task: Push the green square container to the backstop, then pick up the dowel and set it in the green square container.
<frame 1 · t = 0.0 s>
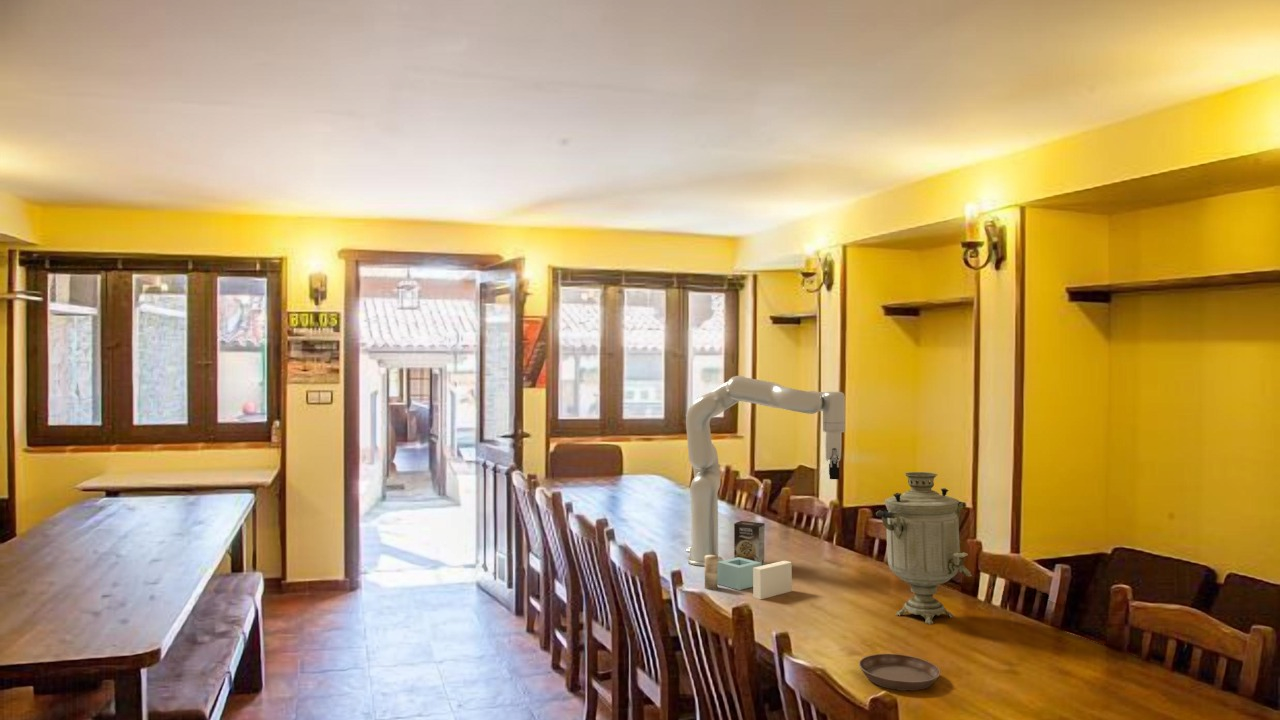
hand: (834, 477, 299), 31 cm above the table, tool pointing down, fingers open, 9 cm apart
coffee box: (749, 570, 297), on the table
dowel: (711, 587, 274), on the table
backstop: (772, 594, 267), on the table
plant saucer: (899, 680, 197), on the table
samovar: (928, 619, 241), on the table
green square container: (739, 573, 278), point 4 cm above the table, slide at 0.0 cm
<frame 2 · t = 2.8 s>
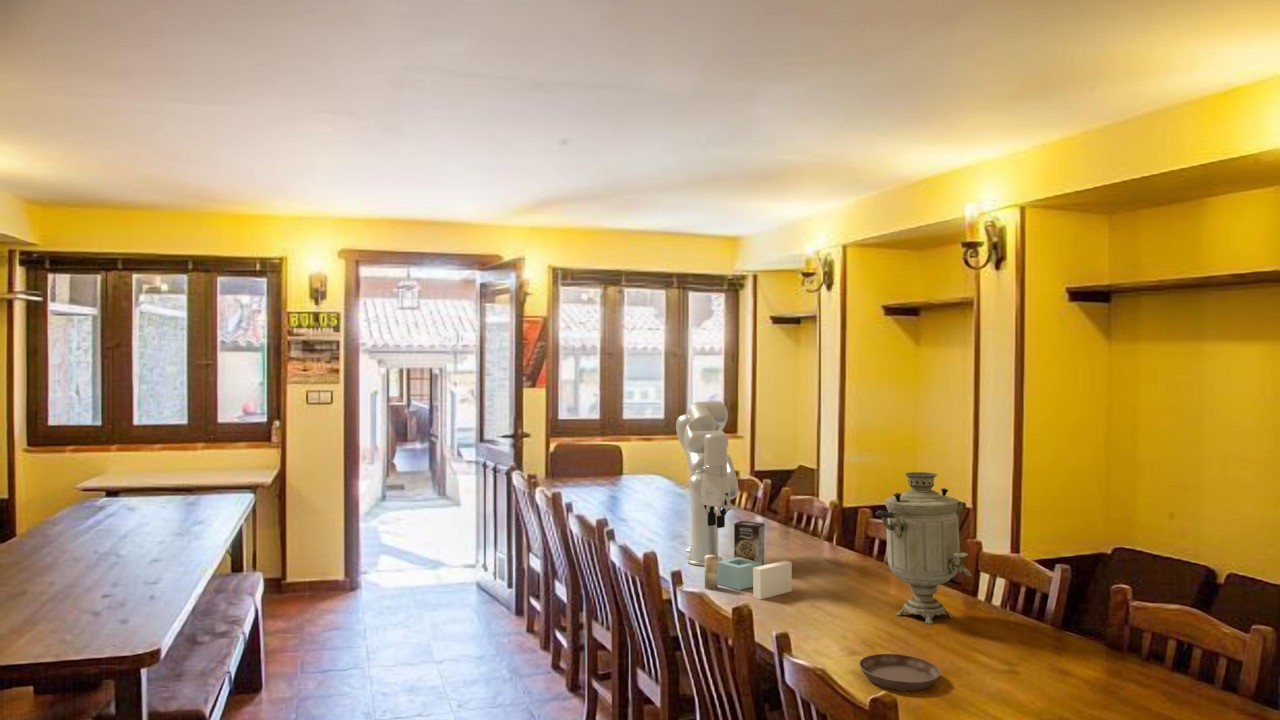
hand: (716, 525, 286), 17 cm above the table, tool pointing down, fingers open, 3 cm apart
nothing on the table moved.
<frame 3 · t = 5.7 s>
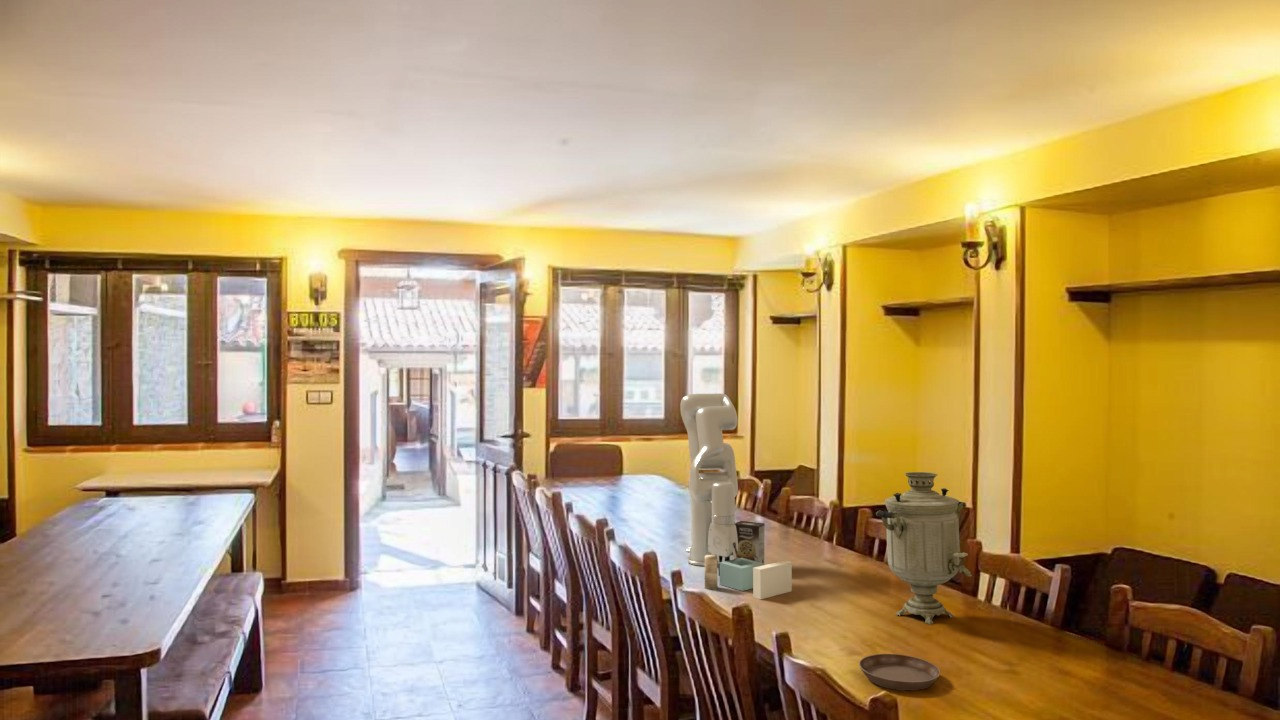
hand: (723, 575, 283), 1 cm above the table, tool pointing down, fingers closed
green square container: (741, 573, 277), point 4 cm above the table, slide at 1.2 cm, touching gripper
everything else where it was.
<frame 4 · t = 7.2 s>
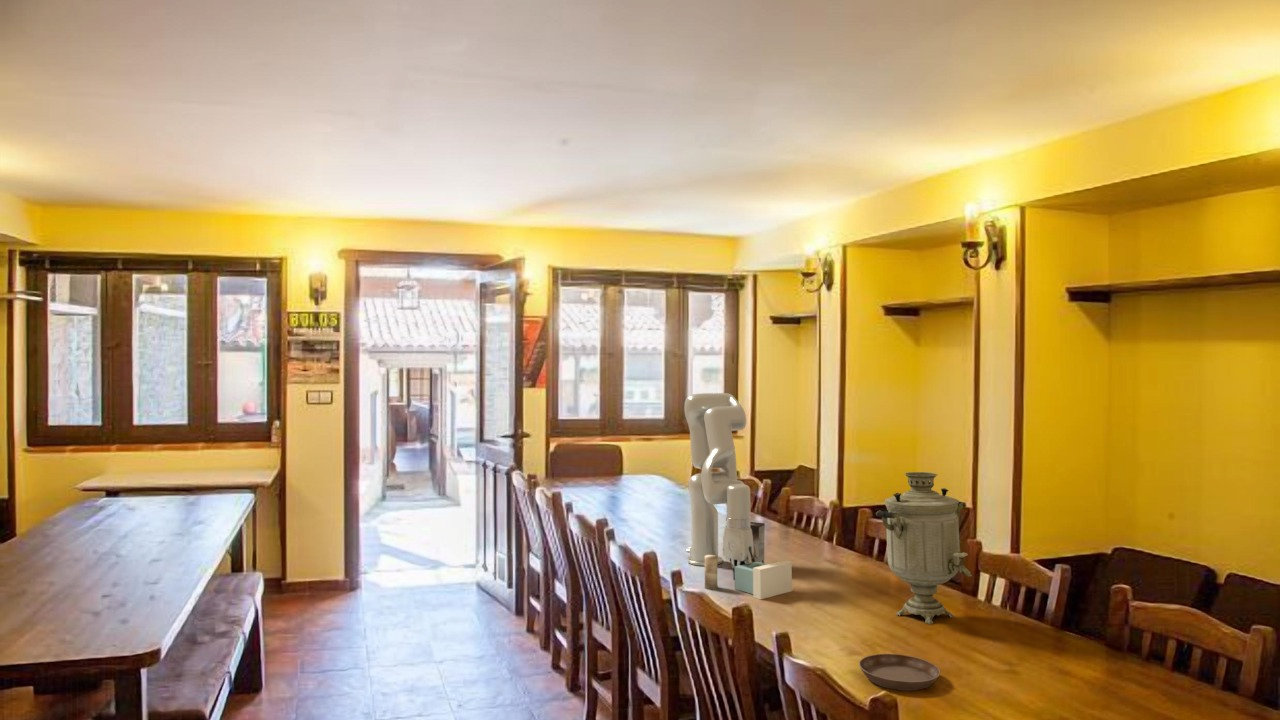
hand: (738, 579, 278), 1 cm above the table, tool pointing down, fingers closed
green square container: (757, 578, 272), point 4 cm above the table, slide at 8.0 cm, touching backstop, gripper
everything else where it was.
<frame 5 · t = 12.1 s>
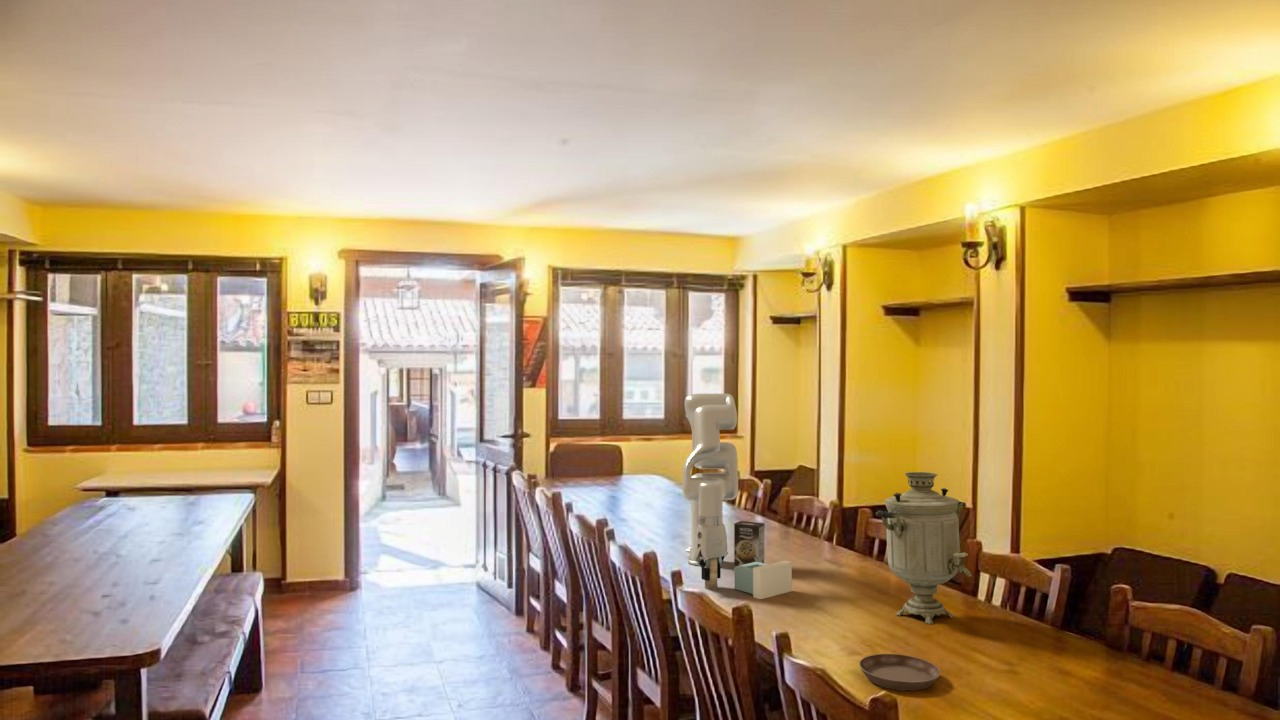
hand: (711, 578, 274), 3 cm above the table, tool pointing down, fingers closed on dowel, 4 cm apart
dowel: (711, 587, 274), on the table, touching gripper
green square container: (757, 578, 272), point 4 cm above the table, slide at 8.0 cm, touching backstop
everything else where it was.
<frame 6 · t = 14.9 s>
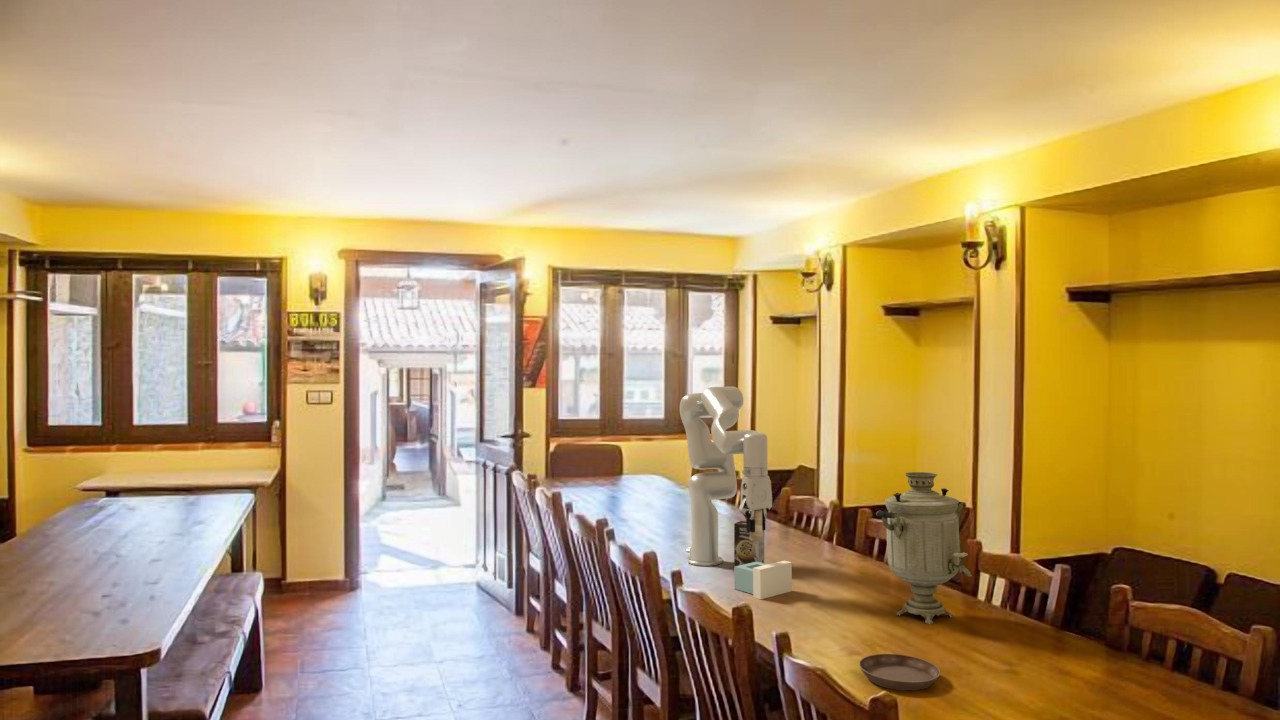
hand: (755, 530, 272), 19 cm above the table, tool pointing down, fingers closed on dowel, 4 cm apart
dowel: (756, 540, 272), point 16 cm above the table, touching gripper
everything else where it was.
when the fingers open (8 cm above the table, at t = 17.6 s): dowel stays where it is, resting on green square container.
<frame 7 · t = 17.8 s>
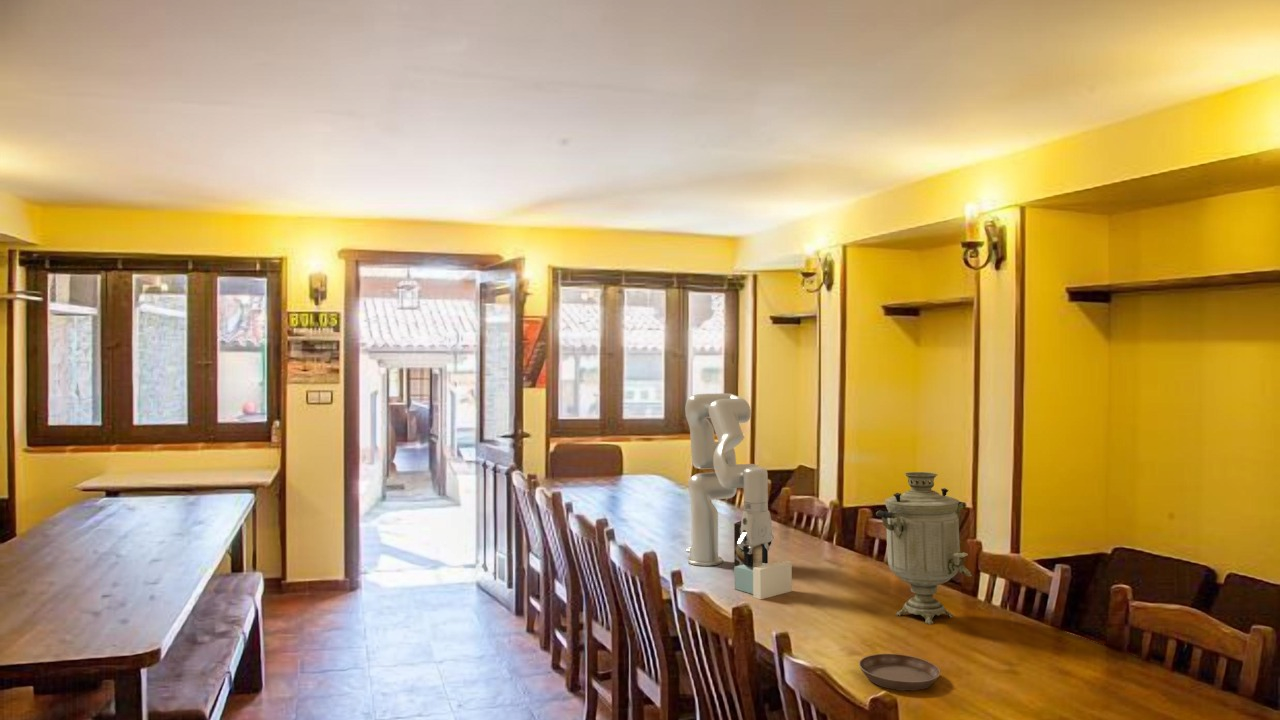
hand: (756, 563, 272), 8 cm above the table, tool pointing down, fingers open, 6 cm apart
dowel: (755, 577, 272), point 4 cm above the table, touching green square container
green square container: (757, 578, 272), point 4 cm above the table, slide at 8.0 cm, touching backstop, dowel
everything else where it was.
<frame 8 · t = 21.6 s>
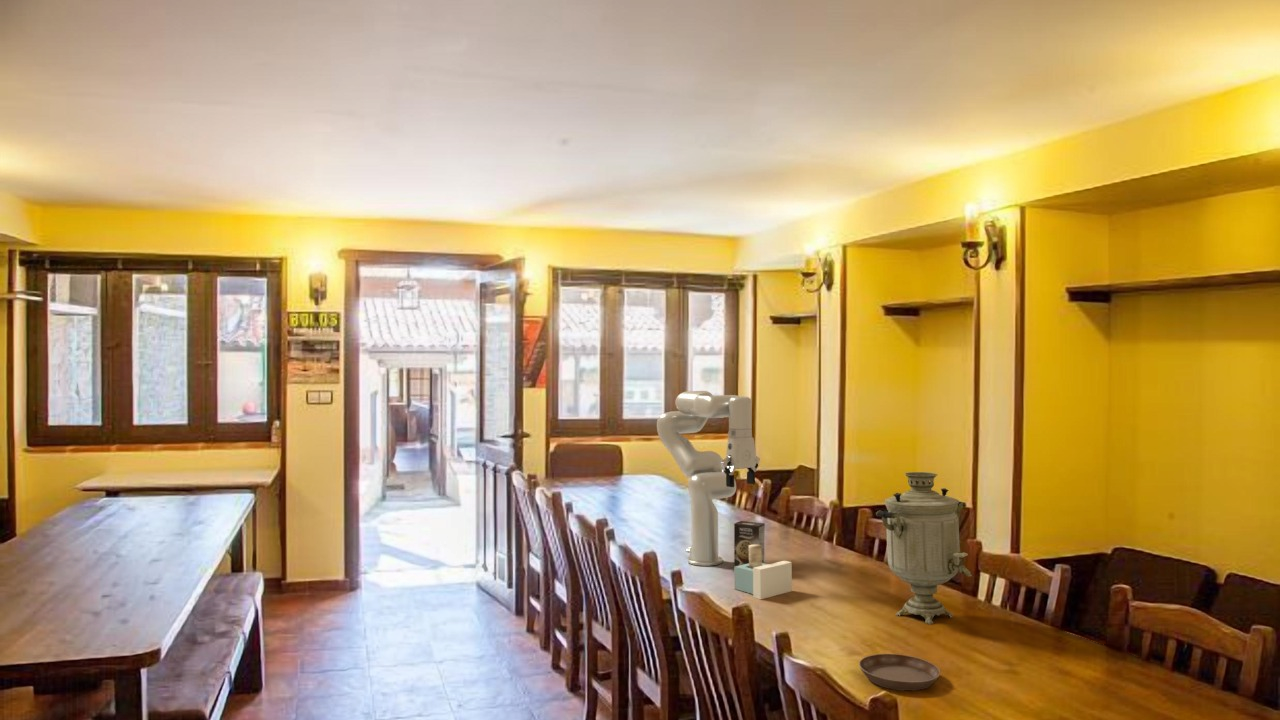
hand: (740, 485, 288), 30 cm above the table, tool pointing down, fingers open, 9 cm apart
green square container: (757, 578, 272), point 4 cm above the table, slide at 8.0 cm, touching dowel
everything else where it was.
at the end: green square container slide at 8.0 cm; dowel 0.5 cm off-centre on the green square container, point 3.7 cm above the green square container's base; dowel tilted 2° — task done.
